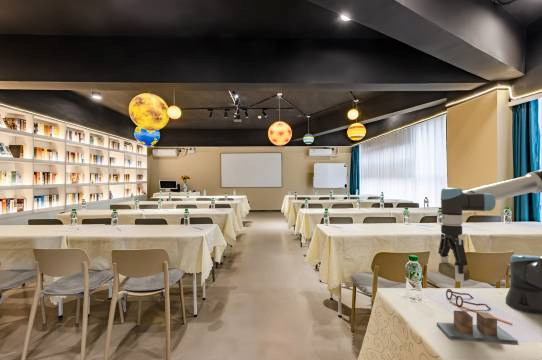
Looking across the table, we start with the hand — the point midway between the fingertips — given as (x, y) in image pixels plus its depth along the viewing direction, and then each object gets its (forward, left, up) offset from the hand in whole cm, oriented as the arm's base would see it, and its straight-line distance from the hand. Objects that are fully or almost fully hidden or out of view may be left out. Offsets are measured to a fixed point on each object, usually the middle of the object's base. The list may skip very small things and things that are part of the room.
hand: (451, 276), depth 119 cm
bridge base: (-1, +15, -16) cm, 22 cm away
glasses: (-14, -14, -17) cm, 26 cm away
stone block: (-1, 0, -1) cm, 1 cm away
